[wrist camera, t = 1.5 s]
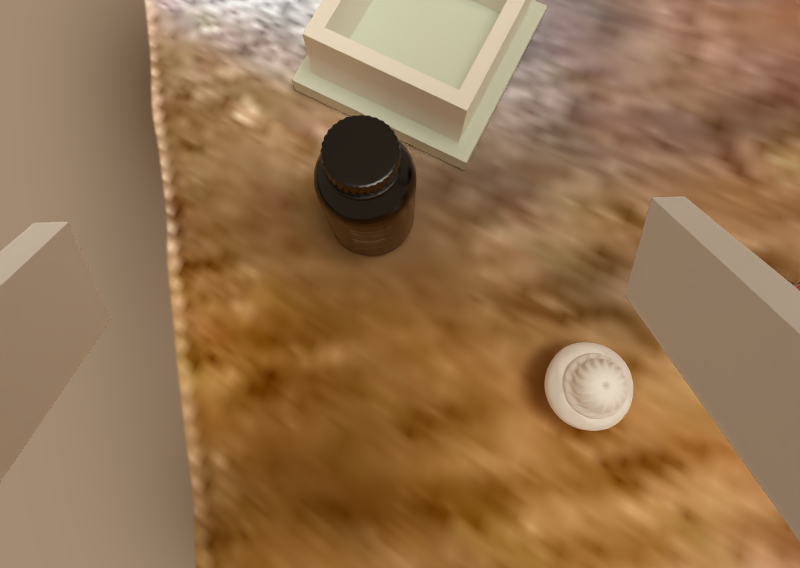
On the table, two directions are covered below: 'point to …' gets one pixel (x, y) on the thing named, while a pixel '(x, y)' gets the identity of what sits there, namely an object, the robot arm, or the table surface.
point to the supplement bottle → (366, 185)
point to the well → (418, 65)
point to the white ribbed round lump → (589, 386)
